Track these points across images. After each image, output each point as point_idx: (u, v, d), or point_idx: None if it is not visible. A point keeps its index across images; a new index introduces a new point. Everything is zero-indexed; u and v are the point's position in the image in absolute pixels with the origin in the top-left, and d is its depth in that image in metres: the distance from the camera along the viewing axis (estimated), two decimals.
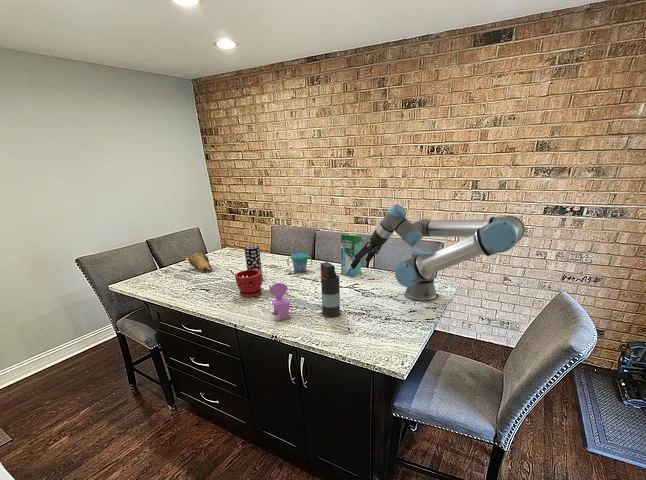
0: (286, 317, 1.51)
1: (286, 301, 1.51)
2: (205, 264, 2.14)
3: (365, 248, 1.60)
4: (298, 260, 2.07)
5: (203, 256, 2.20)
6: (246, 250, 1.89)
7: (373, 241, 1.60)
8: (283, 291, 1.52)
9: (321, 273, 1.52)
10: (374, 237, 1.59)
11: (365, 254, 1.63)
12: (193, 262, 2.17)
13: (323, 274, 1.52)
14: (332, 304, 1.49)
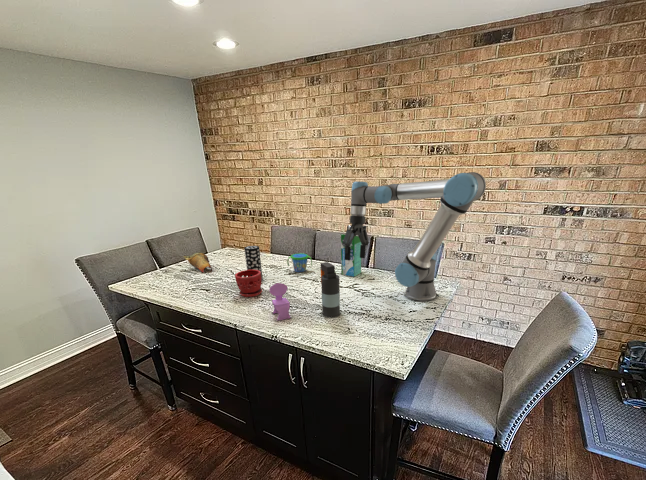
0: (286, 317, 1.51)
1: (286, 301, 1.51)
2: (205, 264, 2.14)
3: (348, 231, 1.60)
4: (298, 260, 2.07)
5: (203, 256, 2.20)
6: (246, 250, 1.89)
7: (353, 223, 1.61)
8: (283, 291, 1.52)
9: (321, 273, 1.52)
10: (352, 219, 1.62)
11: (352, 239, 1.61)
12: (193, 262, 2.17)
13: (323, 274, 1.52)
14: (332, 304, 1.49)
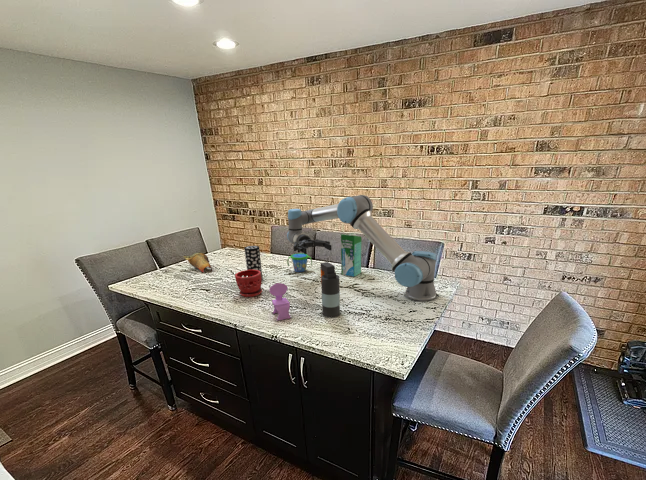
0: (286, 317, 1.51)
1: (286, 301, 1.51)
2: (205, 264, 2.14)
3: None
4: (298, 260, 2.07)
5: (203, 256, 2.20)
6: (246, 250, 1.89)
7: None
8: (283, 291, 1.52)
9: (321, 273, 1.52)
10: None
11: (300, 244, 1.72)
12: (193, 262, 2.17)
13: (323, 274, 1.52)
14: (332, 304, 1.49)
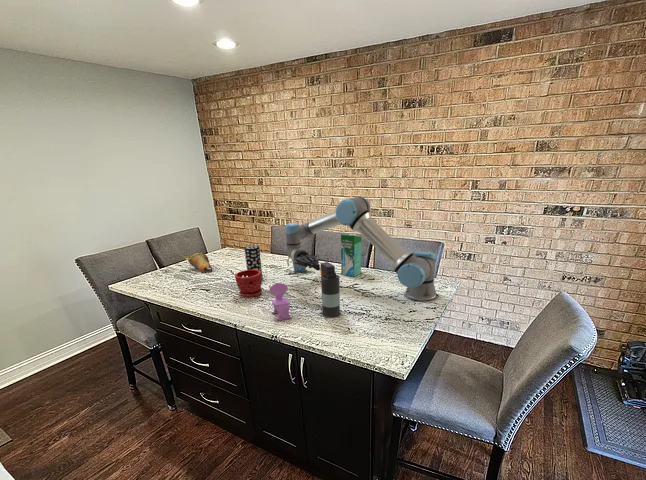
0: (286, 317, 1.51)
1: (286, 301, 1.51)
2: (205, 264, 2.14)
3: (298, 262, 1.71)
4: None
5: (203, 256, 2.20)
6: (246, 250, 1.89)
7: (296, 258, 1.76)
8: (283, 291, 1.52)
9: (321, 273, 1.52)
10: None
11: (306, 260, 1.69)
12: (193, 262, 2.17)
13: (323, 274, 1.52)
14: (332, 304, 1.49)
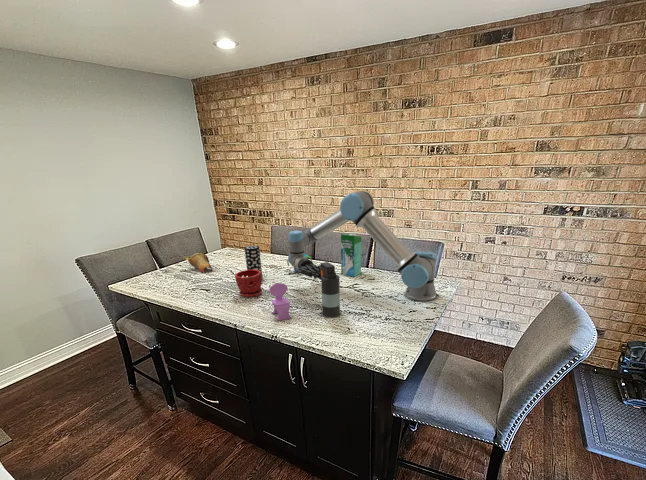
0: (286, 317, 1.51)
1: (286, 301, 1.51)
2: (205, 264, 2.14)
3: (302, 271, 1.64)
4: None
5: (203, 256, 2.20)
6: (246, 250, 1.89)
7: (300, 268, 1.69)
8: (283, 291, 1.52)
9: (321, 273, 1.52)
10: None
11: (311, 269, 1.62)
12: (193, 262, 2.17)
13: (323, 274, 1.52)
14: (332, 304, 1.49)
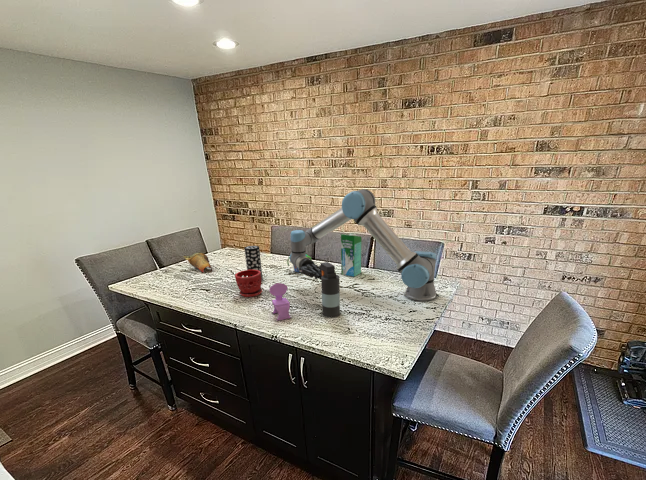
0: (286, 317, 1.51)
1: (286, 301, 1.51)
2: (205, 264, 2.14)
3: (303, 271, 1.63)
4: None
5: (203, 256, 2.20)
6: (246, 250, 1.89)
7: (301, 268, 1.68)
8: (283, 291, 1.52)
9: (322, 274, 1.51)
10: None
11: (312, 270, 1.62)
12: (193, 262, 2.17)
13: None
14: (332, 304, 1.49)
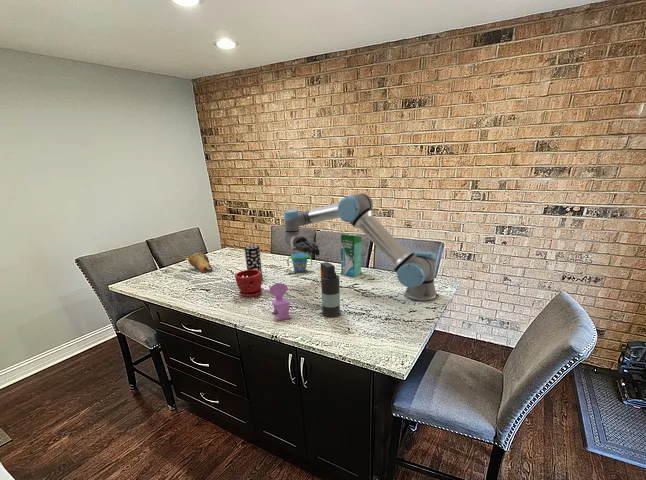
0: (286, 317, 1.51)
1: (286, 301, 1.51)
2: (205, 264, 2.14)
3: (297, 247, 1.69)
4: (298, 260, 2.07)
5: (203, 256, 2.20)
6: (246, 250, 1.89)
7: (295, 245, 1.74)
8: (283, 291, 1.52)
9: (321, 273, 1.52)
10: None
11: (306, 245, 1.67)
12: (193, 262, 2.17)
13: (323, 274, 1.52)
14: (332, 304, 1.49)
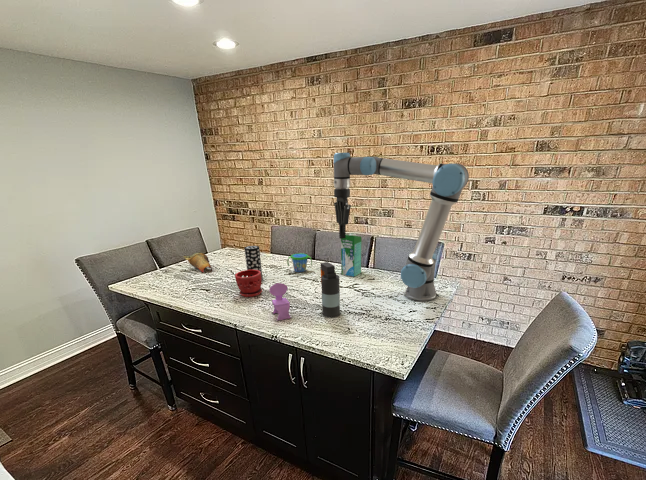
0: (286, 317, 1.51)
1: (286, 301, 1.51)
2: (205, 264, 2.14)
3: (347, 211, 1.58)
4: (298, 260, 2.07)
5: (203, 256, 2.20)
6: (246, 250, 1.89)
7: (345, 198, 1.57)
8: (283, 291, 1.52)
9: (321, 273, 1.52)
10: (344, 193, 1.56)
11: None
12: (193, 262, 2.17)
13: (323, 274, 1.52)
14: (332, 304, 1.49)
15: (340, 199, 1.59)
